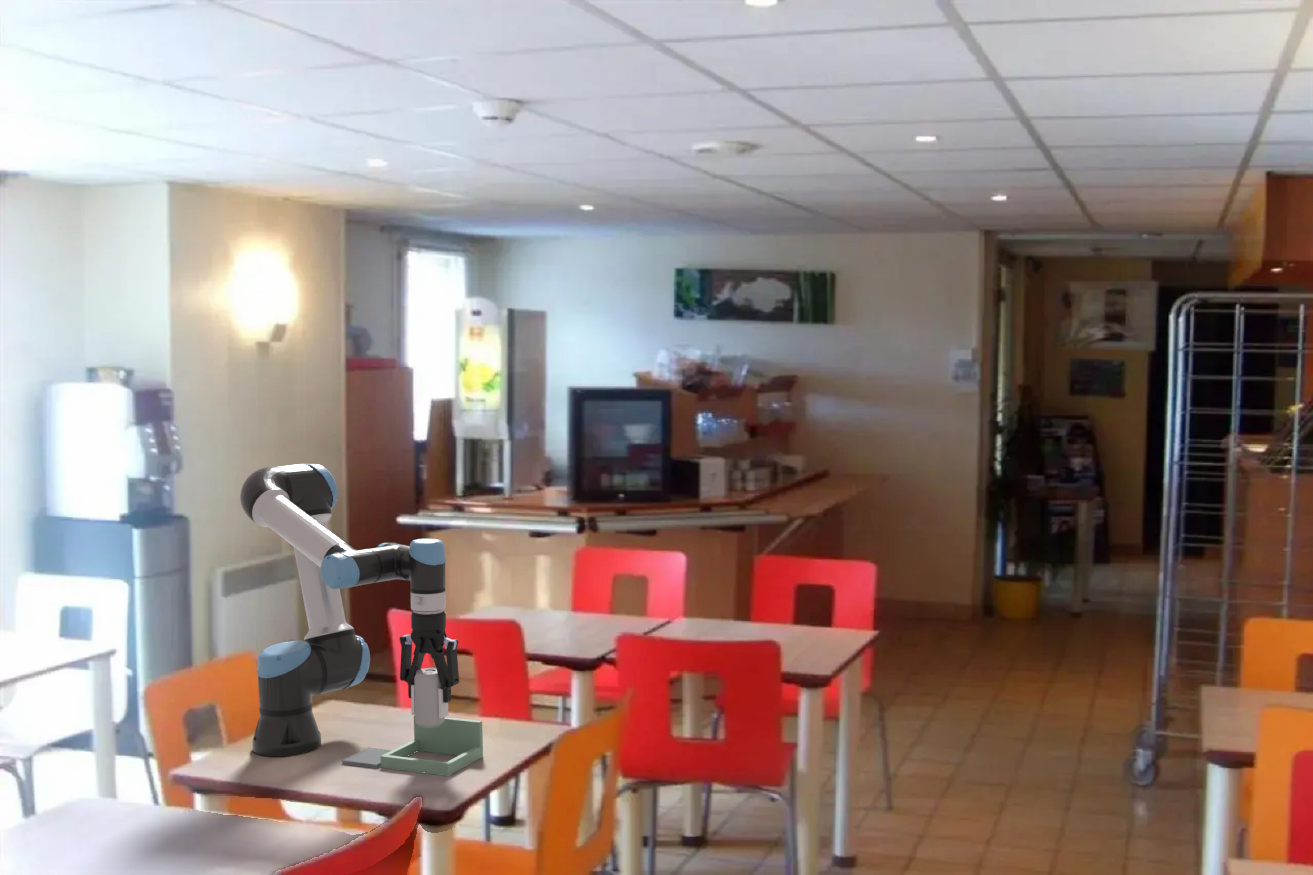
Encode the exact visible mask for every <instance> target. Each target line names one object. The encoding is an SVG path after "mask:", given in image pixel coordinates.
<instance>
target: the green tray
mask: <svg viewBox="0 0 1313 875" xmlns="http://www.w3.org/2000/svg"><path fill="white" fill-rule="evenodd" d="M413 736H414V737H413V738H414V739H412V740H411V741H409V742H406V743H404V744H402V745H400V746H399V747H396V748H394V749H391V750H392V751H390V752H388V753H386V754H384V755H382V756H381V766H380V768H383V769H390V770H398V769H399V770H398V771H405V770H407V772H412V771H415V772H414V773H420V772H425V773H424V774H428V773H430V774H429V775H437V776H445V777H449V776H452V775H453V774H455V773H456V772H458V771H460V770H462V769H464V768H466V767H467V766H469V765H471V764H472V763H474V762H476V761H478V760H480V759H481V758H484V746H483V744H484V740H483V736H484V735H483V721H482V720H474V719H468V718H467V719H466V718H457V717H448V716H446V717H445V721H444V722H443V723H442V724H441V725H440V726H438V727H433V728H423V727H420V726H419V725H418V724H416V723H415V715H413ZM416 751H418V752H424V751H428V752H427V753H433V752H434V754H442V755H450V756H455V757H453V758H451V759H450V760H448V761H439V760H430V759H423V758H415V757H409V756H408V755H410V756H412V755H414V754H415V753H414V752H416ZM413 753H414V754H413ZM416 753H417V752H416ZM411 754H412V755H411ZM407 756H408V757H407Z"/></svg>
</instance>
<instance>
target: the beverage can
mask: <svg viewBox="0 0 1313 875" xmlns="http://www.w3.org/2000/svg"><path fill="white" fill-rule="evenodd" d="M414 682H415V723H416V724H418V725H419V726H420V727H423V728H433V727H438V726H440V725H441V724H442V723H443V722H444V721H445V717H444V718H439V701H438V689H439V688H440V687H442V686H441V683H440V679H439V676H438V673H437V669H436V667H425V668H421V669H419V670H417V671H416V675H415V677H414Z"/></svg>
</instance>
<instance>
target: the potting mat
mask: <svg viewBox="0 0 1313 875" xmlns="http://www.w3.org/2000/svg"><path fill="white" fill-rule="evenodd" d="M392 750H393V749H385V748H384V749H383V748H375V747H367V748H364V749H363V750H361V751H359V752H357V753H355V754H352V755H350V756H348V757H346V758H343V759H342V760H341V763H342V764H341V765H348V766H355V767H364V768H371V769H372V768H373V769H378V768H381V756H382V755H384V754H386V753H388V752H390V751H392Z"/></svg>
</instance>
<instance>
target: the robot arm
mask: <svg viewBox="0 0 1313 875" xmlns="http://www.w3.org/2000/svg"><path fill="white" fill-rule="evenodd" d="M338 496H339V491H338V485H337V482H336V480H335V478H334V475H333V474H332V473H331V472H330V470H329V469H328V468H326V467H325V466H323V465H322V464H317V463H299V464H291V465H281V466H279V465H278V466H267V467H263V468H260V469H257V470H255V471H254V472H252V473H251V474H250V475H248V476H247V478H246V479H245V481H244V482H243V484H242V486H241V490H240V496H239V498H240V504H241V508H242V510H243V511H244V513H245V515H246V516H247V517H248V518H249V519H250V520H251V521H252V522H254V523H255V524H256V525H257V526H260V527H262V528H269V529H270V530H272V531H273V532H274V533H275V534H276V535H278V536H280V537H281V538H282V539H283V540H285V541H286V542H287V543H288V544H289V545H291V546H292V548H293V552H294V556H295V558H294V559H295V563H296V567H297V572H298V578H299V582H300V588H301V593H302V597H303V598H302V599H303V605H304V609H305V614H306V620H307V625H308V632H307V633H306V634H305V636H304V637H303V639H304V640H290V641H283V642H278V643H276V644H275V643H274V644H272V645H270V646H268V647H266V648H264V649H263V650H262V651H261V652H260V653H259V655H258V658H257V669H256V674H257V685H258V686H257V688H258V706H259V707H258V709H259V714H258V716H259V717H258V720H257V723H256V727H255V730H254V734H253V738H252V752H253V753H254V754H257V755H259V756H265V757H266V756H267V757H287V756H289V757H291V756H296V755H302V754H305V753H309V752H312V751H314V750H317V749H318V748H320V747H321V745H322V733H321V731H320V730H319V727H318V724H317V721H316V717H315V715H314V713H313V697H315V696H318V695H322V694H323V695H324V694H327V693H330V692H331V693H332V692H334V691H336V692H337V691H340V690H346V689H348V688H350V687H355V686H356V685H359V684H361V682H362V681H363V680H364V679H365V678H366V676H367V673H368V672H369V669H370V665H371V664H370V663H371V654H370V650H369V649H370V648H369V646H368V644H367V642H365V639H364V638H363V637H362V636H360V635H356V633H355V627H353V626H352V625H351V624H349V623H348V622H347V620H346V617H345V610H344V606H343V600H342V599H343V598H342V595H341V590H340V589H349V588H353V587H359V586H363V585H370V584H374V583H376V584H377V583H380V582H386V581H387V582H388V581H394V580H403V581H408V582H410V587H409V588H410V609H411V611H412V612H410V627H411V629H412V630H411V633H410V634H408V633H407V634H404V635H402V636H400V637H399V643H400V647H401V650H400V666H399V667H400V671H399V680H400V681H401V682H403V681H404V682H406V684H407V687H408V688H407V692H408V693H407V695H408V696H407V697H408V699H410V700H411V701H410V706H411V710H410V712H411V715H412V716H414V715H415V682H414V677H415V675H416V671H417V670H419V669H422V666H423V662H424V659H425V656H426V654H429V655H430V656H431V659H433V662H434V665H435V668H436V669H437V673H438V676H439V679H440V683H441V686H442V687H440V688H439V689H438V701H439V718H444V717H448V716H449V702H451V700H452V687H454V686H456V685H459V683H460V677H459V676H460V673H459V663H458V662H459V661H458V652H457V651H458V647H459V639H456V638H454V639H451V638H449V637H448V635H447V633H446V628H447V616H446V615H447V612H446V611H445V609H446V608H447V602H446V599H447V596H446V595H447V594H446V592H447V591H446V590H447V589H446V561H447V558H446V552H445V551H446V549H445V543H444V542H443V540H441V539H436V538H417V539H413V540H412V541H410V544H409V545H406V544H400V543H397V542H383V543H380V544H378V545H377V546H376V547H373V548H372V547H371V548H363V549H355V548H354V547H352V546H351V545H349V544H348V543H347V542H345V541H344V540H342V539H341V538H340V537H339V536H337V535H336V534H335V533H333V531H331V530H330V529H329V528H328V522H329V520H330V519H331V517H332V509H333V508H334V507H335V505H336V504H337V502H338V499H337V498H338ZM413 644H414V650H413ZM444 645H445V647H444ZM444 648H445V649H444ZM445 650H446V651H445ZM412 656H413V658H412Z"/></svg>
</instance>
